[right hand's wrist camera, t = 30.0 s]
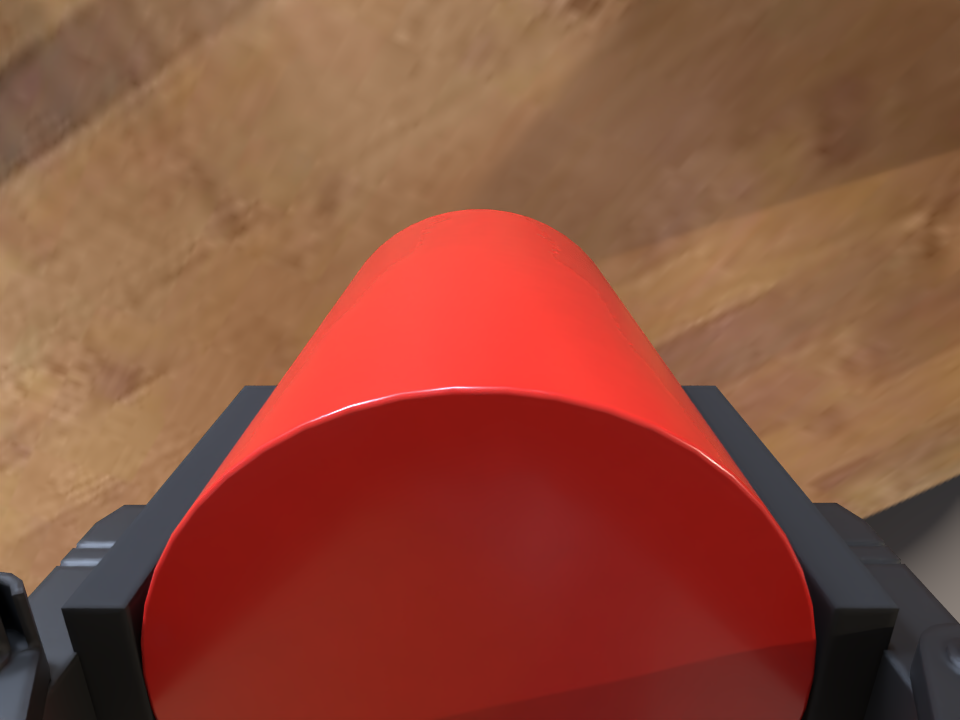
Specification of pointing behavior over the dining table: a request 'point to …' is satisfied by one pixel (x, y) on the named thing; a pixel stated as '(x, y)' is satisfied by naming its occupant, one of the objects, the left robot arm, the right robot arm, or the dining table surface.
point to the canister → (478, 517)
